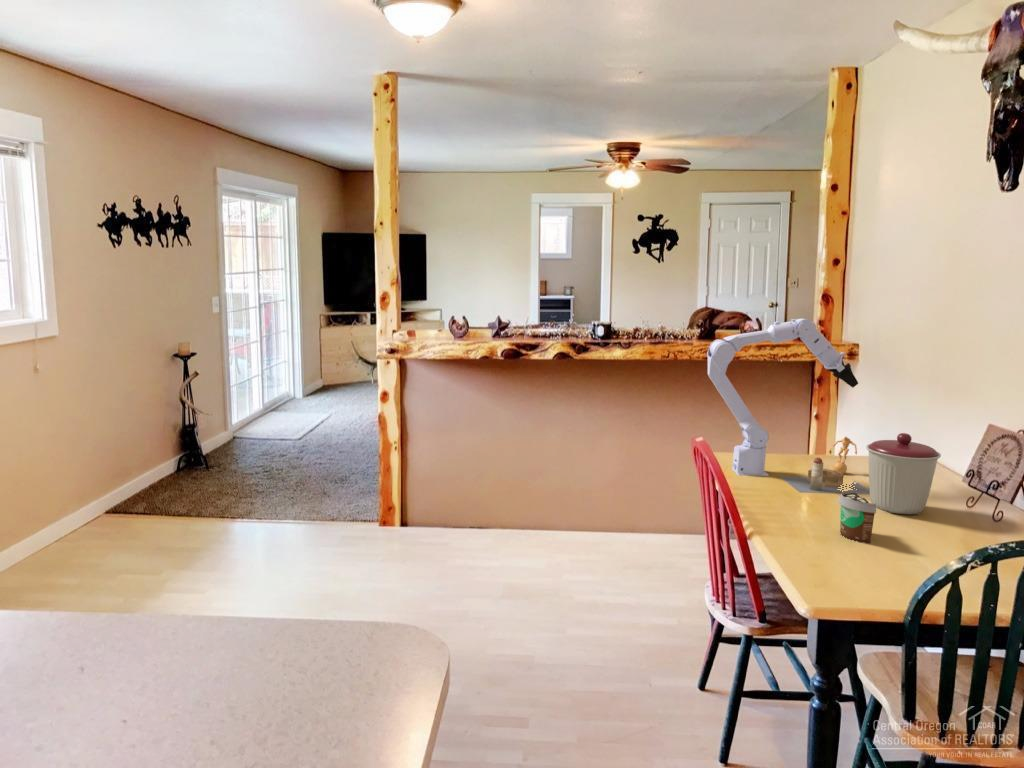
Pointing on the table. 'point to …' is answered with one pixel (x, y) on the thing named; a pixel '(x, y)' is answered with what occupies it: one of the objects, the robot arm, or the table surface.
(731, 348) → the robot arm
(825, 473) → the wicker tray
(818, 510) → the table surface
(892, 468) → the canister
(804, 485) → the felt mat
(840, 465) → the figurine
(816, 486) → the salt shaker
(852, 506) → the food container
